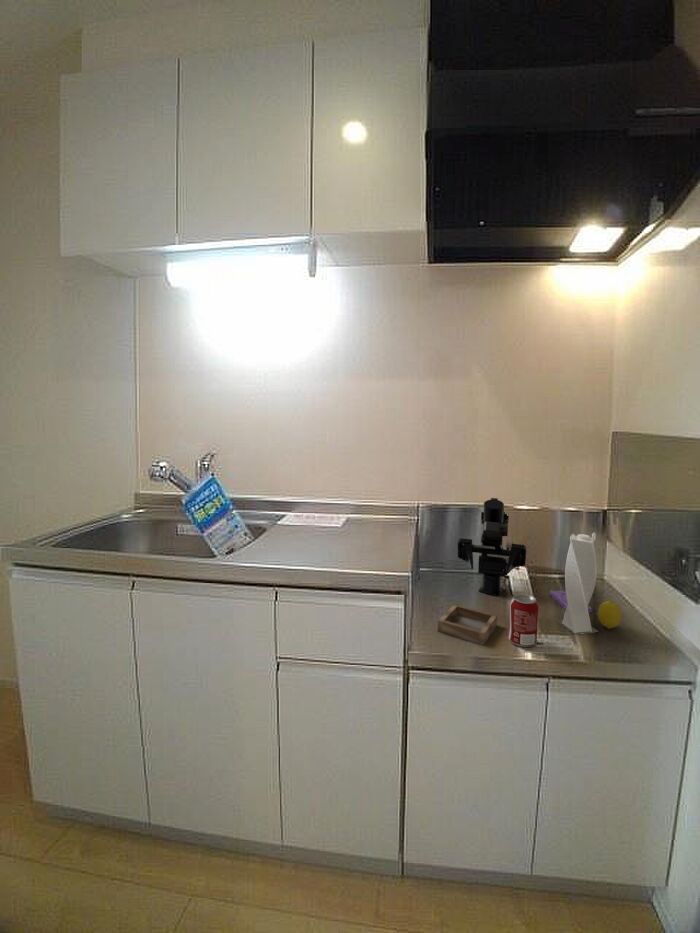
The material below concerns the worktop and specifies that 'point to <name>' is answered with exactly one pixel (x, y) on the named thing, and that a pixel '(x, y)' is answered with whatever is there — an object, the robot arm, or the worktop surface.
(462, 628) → the wooden square tray
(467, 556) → the robot arm
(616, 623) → the lemon
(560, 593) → the sponges
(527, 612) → the soda can
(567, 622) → the skyscraper
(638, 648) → the worktop surface
